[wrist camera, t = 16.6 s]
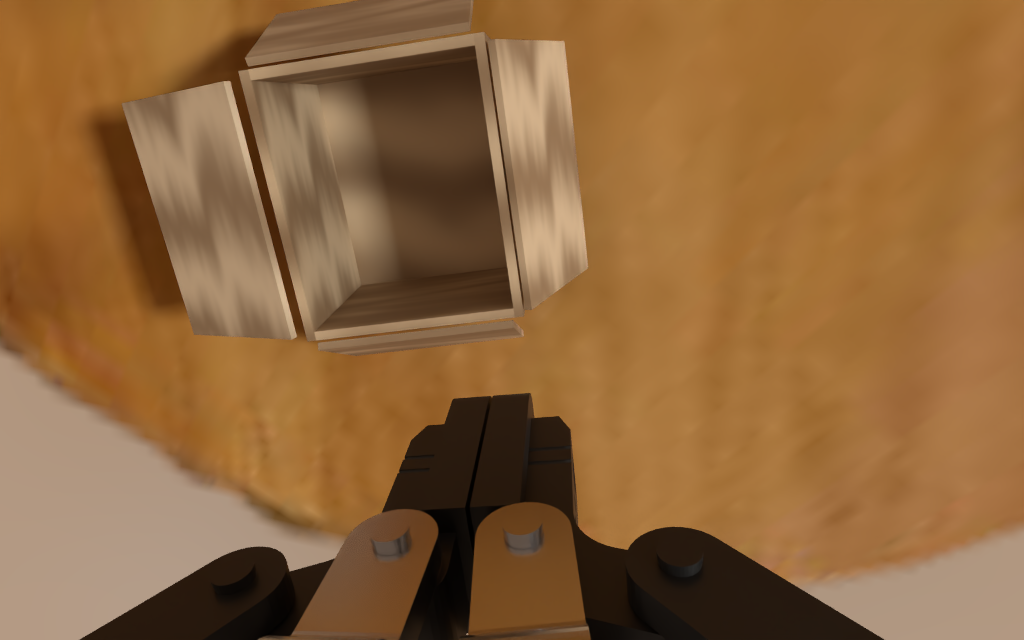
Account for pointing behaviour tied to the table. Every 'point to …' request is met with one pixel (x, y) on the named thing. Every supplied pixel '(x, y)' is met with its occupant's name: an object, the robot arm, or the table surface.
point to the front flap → (211, 211)
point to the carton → (415, 172)
